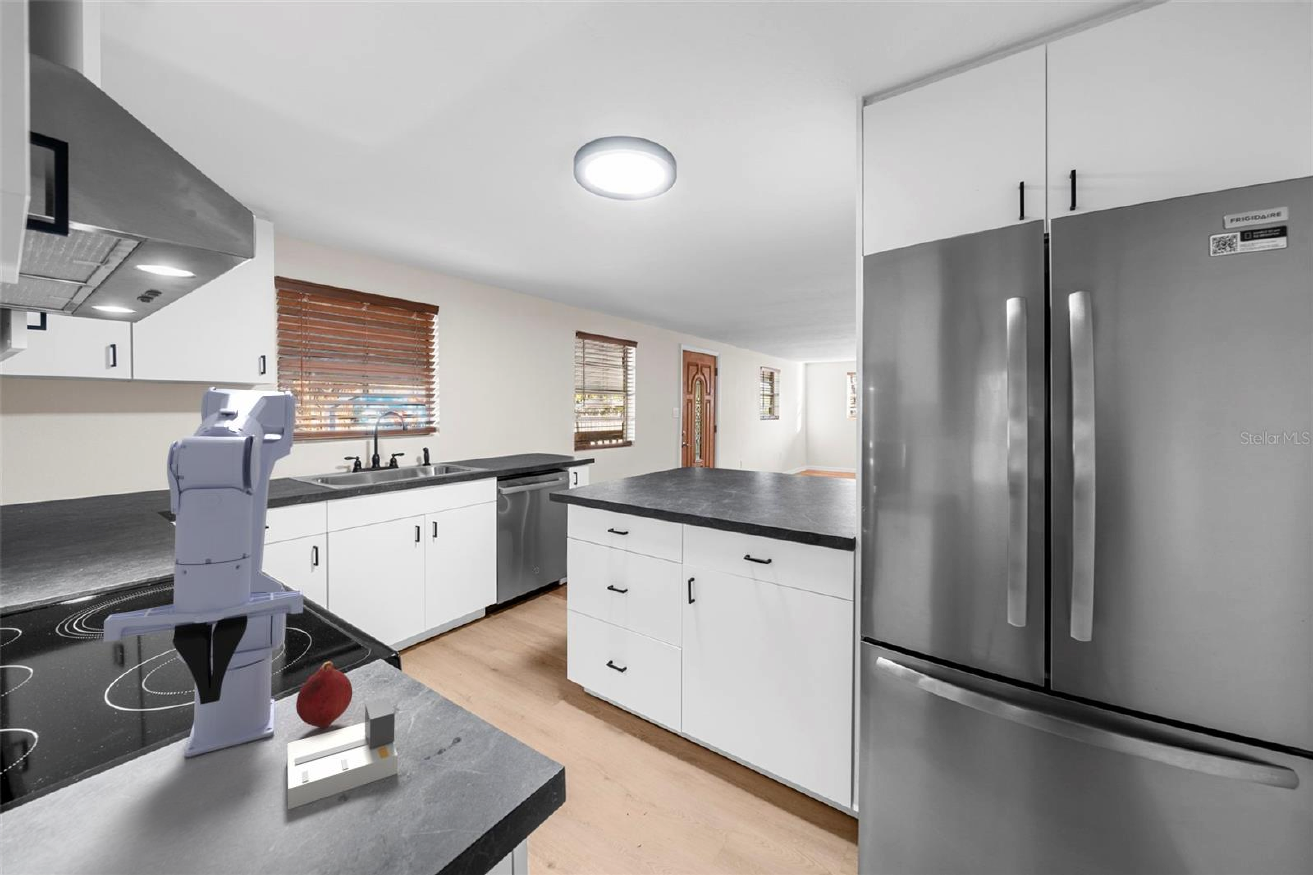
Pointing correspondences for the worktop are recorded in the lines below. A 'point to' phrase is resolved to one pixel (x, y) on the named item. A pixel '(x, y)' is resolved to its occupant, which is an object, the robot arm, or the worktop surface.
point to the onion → (324, 696)
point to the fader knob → (379, 722)
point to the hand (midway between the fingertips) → (210, 698)
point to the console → (335, 764)
